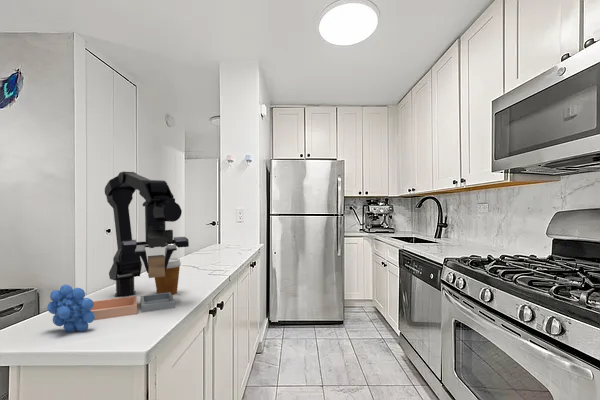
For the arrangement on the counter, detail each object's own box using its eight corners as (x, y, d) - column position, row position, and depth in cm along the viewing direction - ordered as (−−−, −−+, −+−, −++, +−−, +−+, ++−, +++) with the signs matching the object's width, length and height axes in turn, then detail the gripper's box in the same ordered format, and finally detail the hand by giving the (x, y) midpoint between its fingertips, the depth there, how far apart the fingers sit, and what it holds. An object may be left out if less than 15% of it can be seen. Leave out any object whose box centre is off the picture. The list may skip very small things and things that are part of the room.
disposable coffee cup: (172, 299, 116) (171, 262, 116) (146, 298, 118) (145, 262, 118) (187, 291, 125) (186, 258, 125) (162, 291, 127) (162, 257, 127)
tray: (140, 303, 112) (140, 295, 112) (170, 299, 116) (170, 292, 116) (141, 314, 101) (141, 305, 101) (175, 309, 105) (174, 301, 105)
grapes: (35, 340, 83) (34, 289, 83) (55, 329, 90) (54, 282, 90) (83, 339, 83) (82, 288, 83) (100, 329, 90) (99, 281, 90)
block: (148, 275, 109) (147, 255, 109) (163, 273, 111) (163, 254, 111) (148, 278, 105) (148, 257, 105) (165, 276, 107) (164, 256, 107)
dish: (81, 312, 104) (81, 302, 104) (136, 305, 110) (136, 295, 110) (76, 324, 93) (76, 313, 93) (137, 315, 100) (137, 305, 100)
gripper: (120, 223, 97) (121, 280, 97) (190, 220, 105) (192, 273, 105) (121, 221, 107) (122, 273, 107) (185, 219, 115) (186, 267, 115)
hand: (156, 271), depth 108 cm, fingers closed on block, 4 cm apart
